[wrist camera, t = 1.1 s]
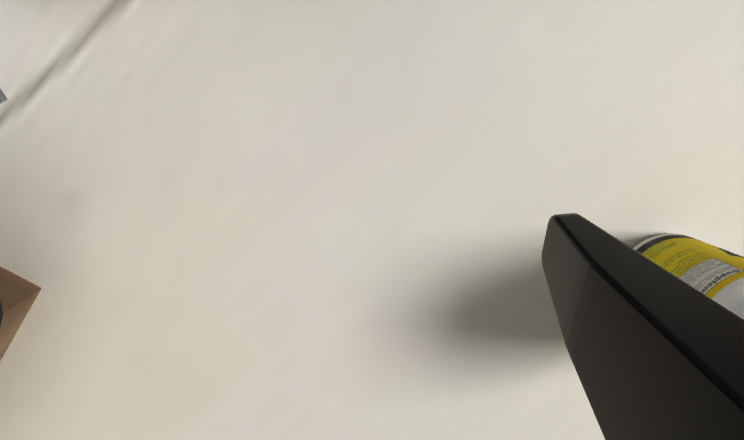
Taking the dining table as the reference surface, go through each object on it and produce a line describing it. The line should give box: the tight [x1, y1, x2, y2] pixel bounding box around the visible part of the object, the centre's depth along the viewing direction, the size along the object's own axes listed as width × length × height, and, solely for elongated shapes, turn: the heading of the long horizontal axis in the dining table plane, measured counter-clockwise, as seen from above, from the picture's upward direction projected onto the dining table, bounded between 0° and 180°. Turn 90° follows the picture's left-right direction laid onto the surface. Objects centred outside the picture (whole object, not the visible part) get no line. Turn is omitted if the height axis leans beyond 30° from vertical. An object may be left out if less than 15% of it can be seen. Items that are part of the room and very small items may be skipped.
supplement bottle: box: [633, 234, 744, 319], centre depth 21 cm, size 5×5×8 cm
